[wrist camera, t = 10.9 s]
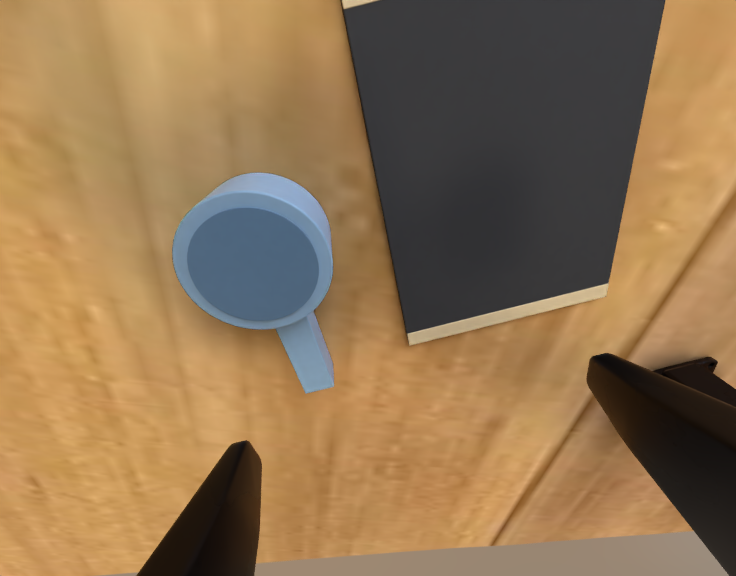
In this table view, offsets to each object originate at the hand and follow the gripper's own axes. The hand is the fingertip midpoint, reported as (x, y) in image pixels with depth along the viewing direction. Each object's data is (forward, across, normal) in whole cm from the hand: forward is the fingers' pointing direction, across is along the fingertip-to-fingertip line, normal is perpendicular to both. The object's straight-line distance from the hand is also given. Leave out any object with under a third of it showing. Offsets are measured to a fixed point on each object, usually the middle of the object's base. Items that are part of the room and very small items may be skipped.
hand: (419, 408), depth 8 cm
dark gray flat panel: (+11, -8, -2) cm, 13 cm away
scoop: (+11, +5, +1) cm, 12 cm away
